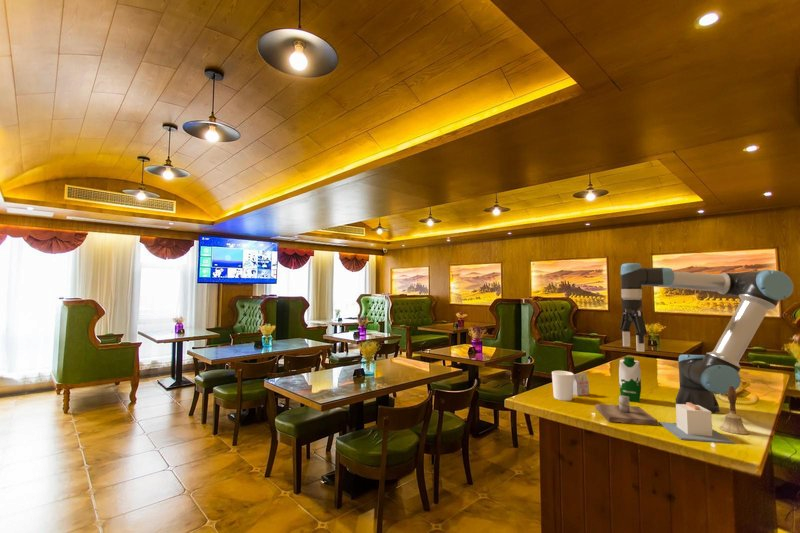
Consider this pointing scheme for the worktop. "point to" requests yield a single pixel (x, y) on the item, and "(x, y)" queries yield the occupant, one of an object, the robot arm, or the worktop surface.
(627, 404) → the post stand
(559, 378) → the candle holder
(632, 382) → the milk carton
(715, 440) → the mat
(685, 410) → the white cubic block
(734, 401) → the hand bell
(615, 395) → the worktop surface
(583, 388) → the tea bag
